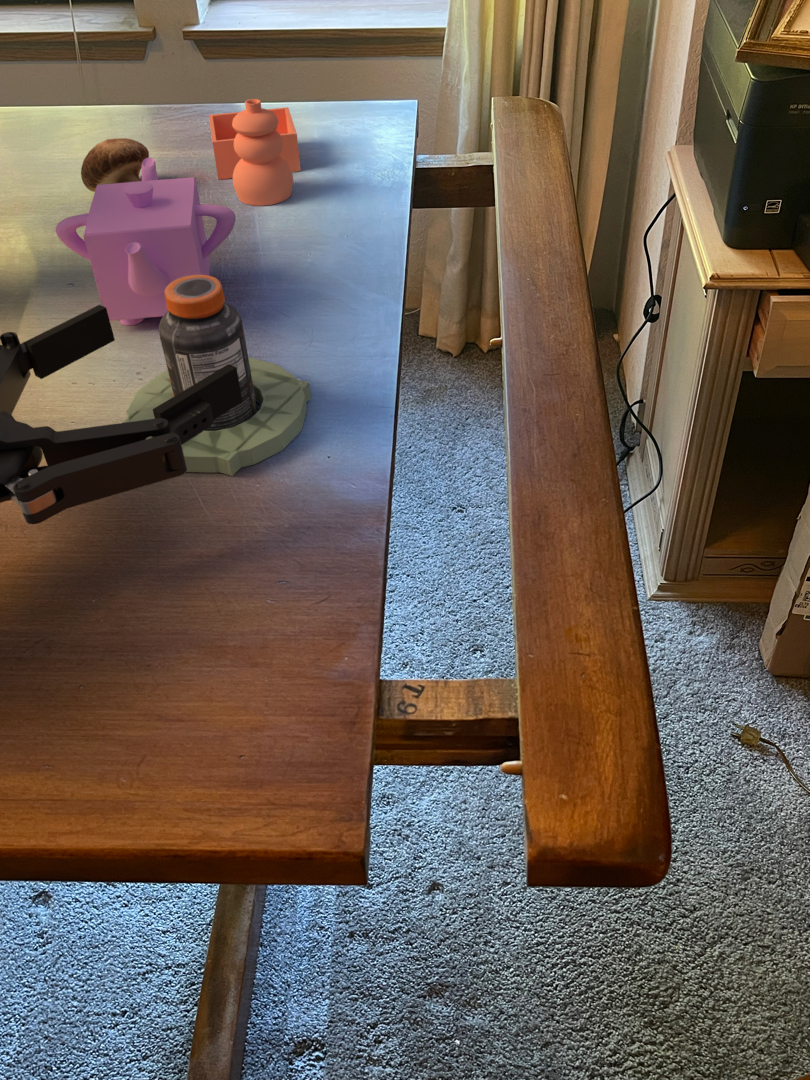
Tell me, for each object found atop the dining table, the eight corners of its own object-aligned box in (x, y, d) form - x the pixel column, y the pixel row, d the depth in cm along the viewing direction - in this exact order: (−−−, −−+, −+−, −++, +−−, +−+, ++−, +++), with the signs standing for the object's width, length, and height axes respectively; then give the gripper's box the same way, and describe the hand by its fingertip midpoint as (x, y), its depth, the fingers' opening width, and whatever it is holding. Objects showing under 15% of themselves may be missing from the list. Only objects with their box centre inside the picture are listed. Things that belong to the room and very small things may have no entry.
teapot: (54, 304, 88) (18, 188, 80) (169, 253, 95) (146, 142, 88) (156, 360, 80) (127, 238, 73) (272, 300, 87) (257, 183, 80)
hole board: (95, 444, 72) (90, 428, 70) (200, 358, 80) (197, 342, 79) (242, 492, 67) (239, 475, 66) (336, 395, 75) (335, 379, 74)
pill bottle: (192, 396, 76) (163, 265, 68) (264, 398, 75) (244, 266, 68) (171, 441, 72) (138, 306, 64) (248, 444, 71) (224, 307, 63)
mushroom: (163, 170, 102) (127, 117, 100) (102, 212, 102) (65, 159, 100) (167, 180, 110) (133, 131, 108) (110, 219, 110) (75, 170, 108)
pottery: (214, 150, 115) (200, 63, 108) (292, 143, 116) (282, 56, 110) (222, 211, 102) (207, 116, 95) (310, 202, 103) (300, 107, 97)
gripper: (-188, 478, 63) (73, 343, 75) (34, 651, 51) (303, 458, 63) (-244, 383, 58) (46, 254, 70) (-11, 550, 46) (290, 361, 58)
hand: (168, 351), depth 67 cm, fingers open, 13 cm apart
